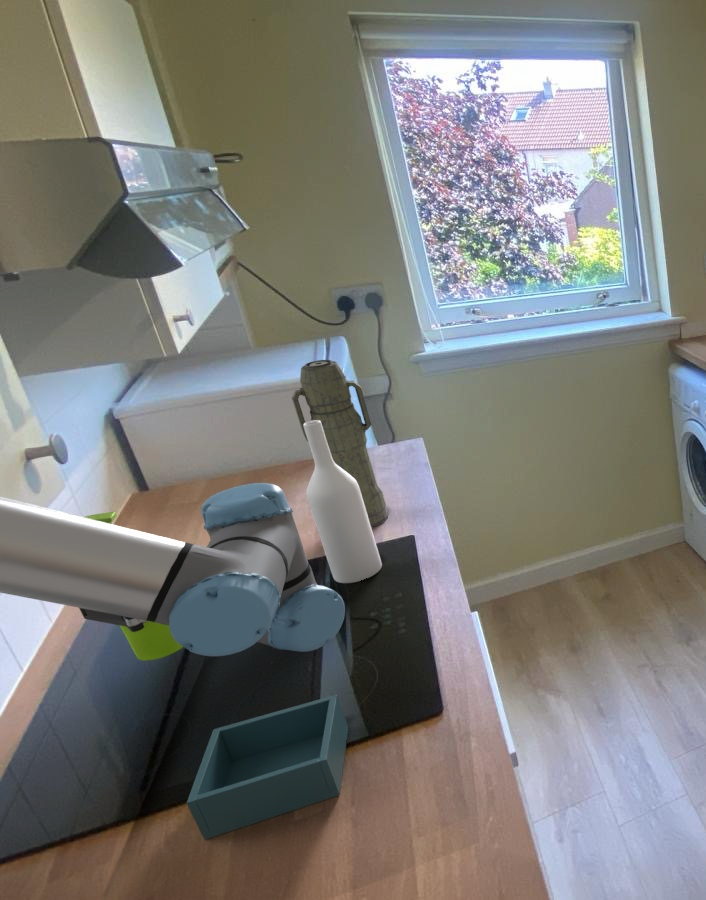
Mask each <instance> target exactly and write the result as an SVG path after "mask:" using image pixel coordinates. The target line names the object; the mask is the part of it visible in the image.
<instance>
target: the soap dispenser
mask: <svg viewBox="0 0 706 900" xmlns="http://www.w3.org/2000/svg"><path fill="white" fill-rule="evenodd" d="M117 515H118V514H117V513H116V511H107V512H101V513H95V514H90V515H86V516H84V517H85V518H89V519H93V520H97V521H101V522H105V523H109V524H113V522H114V520H115V519H116V518H117ZM143 625H144V628H143V629H141V630H139V631H136V632H131V631H130V630H129V629H128V627H126V626H120V625H119V627H120V629H121V631H122V633H123V634H124V636H125V638H126V640H127V642H128V644H129V646H130V648H131V649H132V652H133V653H134V655H135V657H136V658H137V659H138V660H139V661H143V662H144V661H154V660H159V659H162V658H165V657H167V656H168V657H169V656H170V655H172V654H174V653H176V652H178V651H180V650H181V649H183V648H184V647H183V646H182V645H181V644H179V643H177V642H176V641H175V639H174V638H173V636H172V634H171V632H170V627H169V625H164V624H160V623H156V622H151V621H146V622H145V623H143Z"/></svg>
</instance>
